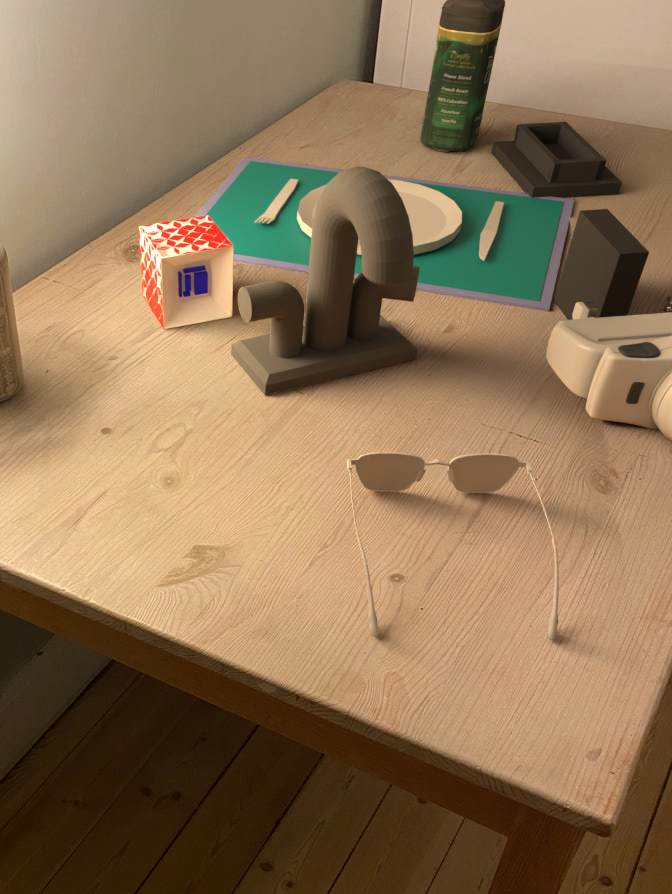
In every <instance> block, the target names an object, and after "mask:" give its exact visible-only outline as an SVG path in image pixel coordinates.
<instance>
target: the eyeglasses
mask: <svg viewBox="0 0 672 894" xmlns="http://www.w3.org/2000/svg"><path fill="white" fill-rule="evenodd" d="M433 465H434V466H435V465H439V466H447V477H448V480H449V482H450V483H451V484H452V485H453V487H454V488H455V490H456V491H458V492H461V493H466V494H489V493H495V492H497V491H500V490H501V489H502V488H503V487H504V486H506V485H507V484H508V483H509V482H510V481H511V480H512V478H513V477H514V476H516V473H518V471H519V468H525V471H526V474H527V476H530V478H531V482H532V483H533V486H534V488H535V490H536V493H537V495H538V498H539V501H540V504H541V506H542V509H543V513H544V515H545V519H546V522H547V524H548V528H549V531H550V535H551V542H552V549H553V557H554V558H553V559H554V561H553V562H554V586H553V597H552V610H551V612H550V613H551V614H550V618H549V621H548V624H547V638H548V640H550V641H554V640H556V639H557V635H558V625H559V614H558V609H559V588H560V586H559V583H560V581H559V580H560V573H559V558H558V557H559V556H558V548H557V543H556V538H555V537H554V533H553V529H552V526H551V522H550V520H549V516H548V514H547V510H546V508H545V505H544V502H543V498H542V496H541V494H540V492H539V489H538V486H537V484H536V482H535V480H534V477H533V475H532V473H533V467H532V465H531V463H530V460H519V458H517V457H516V456H514V455H511V454H505V453H490V452H487V453H486V452H484V453H483V452H481V453H469V454H462V455H458V456H456V457H454V458H452V459H451V460H450V462H448V461H446V460H442V459H439V458H435V459H432V460H429V461H425V460H424V458H423V457H421V456H419V455H417V454H413V453H406V452H399V451H397V452H396V451H376V452H368V453H364V454H361V455H359V456H358V457H356V458H355V457H353V458H352V457H350V458H346V468H347V473H348V474H349V485H350V498H351V507H352V515H353V521H354V528H355V532H356V540H357V543H358V544H357V545H358V547H359V550H360V554H361V557H362V563H363V568H364V575H365V581H366V591H367V600H368V601H367V602H368V614H367V625H368V627H369V632H370V635H371V637H374V638H375V637H378V636H379V635H380V629H379V625H378V616H377V613H376V609H375V602H374V593H373V588H372V582H371V577H370V571H369V567H368V562H367V561H368V560H367V557H366V553H365V550H364V547H363V544H362V541H361V537H360V534H359V531H358V527H357V519H356V513H355V512H356V511H355V505H354V497H353V484H352V470H353V466H354V469H355V472H356V474H357V476H358V479H359V481H360V483H361V484H362V486H363V487H364V488H365V489H367V490H369V491H372V492H378V493H393V492H395V493H396V492H397V493H398V492H403V491H406V490H408V489H409V488H410V487H412V486H413V485H414V484H415V483H416V482H417V483H420V482H421V480H422V479H423V478H424V476H425V473H426V469H425V467H426V466H433Z"/></svg>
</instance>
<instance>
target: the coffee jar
mask: <svg viewBox="0 0 672 894" xmlns="http://www.w3.org/2000/svg"><path fill="white" fill-rule="evenodd" d="M505 7H506V0H446V1H444V3H443V4H442V7H441V11H440V16H439V23H438V28H437V29H438V30H437V36H436V43H435V50H434V56H433V62H432V67H431V68H432V69H431V73H430V80H429V86H428V92H427V98H426V103H425V108H424V114H423V120H422V125H421V131H420V137H419V138H420V142H421V144H422V145H423V146H426V147H429V148H431V149H433V150H434V151H439V152H443V153H449V152H452V151H453V152H454V151H457V152H458V151H459V152H465V151H467V150H469V149H470V148H471V147H472V146H473V145H474V144H475V142H476V141H477V139H478V137H479V134H480V131H481V125H482V121H483V115H484V110H485V104H486V100H487V94H488V90H489V85H490V81H491V76H492V70H493V67H494V62H495V55H496V52H497V47H498V42H499V37H500V33H501V28H502V22H503V18H504V11H505Z"/></svg>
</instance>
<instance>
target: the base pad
mask: <svg viewBox="0 0 672 894" xmlns="http://www.w3.org/2000/svg"><path fill="white" fill-rule="evenodd" d="M490 153H491V154H492V156H493V157H494V158H495V159H496V160H497V161H498V163H499V164H500V165H501V166H502V167H503V168H504V170H505V171H506V172H507V173H508V175H509V176H510V177H511V178H512V179H513V180H514V181H515V182H516V184H517V185H518V186H519V187H520V188H521V189H522V191H523V193H528V195H529V196H530V197H532V198H534V197H559V198H572V197H573V198H574V197H588V196H590V197H591V196H607V195H619V194H620V192H621V188H622V186H623V181H621V179H619V178H618V177H617V176H616V175H615V174H614V173H613V172H612V171H611V170H610V169H609V168H608V167H607V166H606V165H607V159H606V157H604V156H603V155H602V154H601V153H600V152H599V151H597V149H596V148H594V147H593V146H592V145H591V144H590V143H589V142H588V141H587V140H586V139H585V138H584V137H583V136H582V135H580V133H578V131H576V129H574V128H573V126H571V125H570V124H569V123H568V122H567V121H554V122H553V121H552V122H551V121H550V122H535V123H518V124H516V129H515V134H514V137H513V140H503V141H501V140H500V141H493V143H492V146H491V151H490Z"/></svg>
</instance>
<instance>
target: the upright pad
mask: <svg viewBox="0 0 672 894" xmlns="http://www.w3.org/2000/svg"><path fill="white" fill-rule="evenodd" d="M569 243H570V244H569V247H568V250H567V254H566V258H565V261H564V265H563V268H562V271H561V274H560V278H559V282H558V285H557V289H556V292H555V295H554V300H553V302H554V304H555V305H556V306H557V307H558V309H559V310H560V311H561V312H562V314H563V315H564V317H565V318H566V320H573V317H572V314H573V310H574V307H575V304H576V303H577V302H593V304H594V305H595V306H596V307H597V308H598V309H597V312H596V315H595V316H594V317H595V318H601V317H615V316H628V315H629V311H630V309H631V305H632V303H633V300H634V297H635V294H636V291H637V288H638V286H639V283H640V281H641V277H642V274H643V271H644V269H645V266H646V264H647V260H648V257H649V254H650V251H649V250H648V249H647V248H646V247H645V246H644V245H643V244H642V243H641V242H640V240H638V238H636V237H635V236H634V235H633V233H632V232H630V231H629V229H627V227H626V226H625V225H624V224H623V223H622V222H621V221H620V220H619V219H618V218H617V217H616V216H615V215H614V214H613V213H612V212H611V211H610V210H609V209H608V208H601V209H600V208H599V209H598V208H597V209H583V210H579V212H578V216H577V218H576V223H575V226H574V229H573V233H572V237H571V240H570V242H569Z"/></svg>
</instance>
